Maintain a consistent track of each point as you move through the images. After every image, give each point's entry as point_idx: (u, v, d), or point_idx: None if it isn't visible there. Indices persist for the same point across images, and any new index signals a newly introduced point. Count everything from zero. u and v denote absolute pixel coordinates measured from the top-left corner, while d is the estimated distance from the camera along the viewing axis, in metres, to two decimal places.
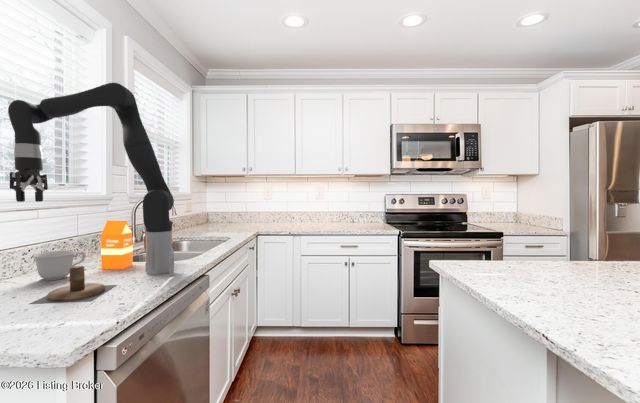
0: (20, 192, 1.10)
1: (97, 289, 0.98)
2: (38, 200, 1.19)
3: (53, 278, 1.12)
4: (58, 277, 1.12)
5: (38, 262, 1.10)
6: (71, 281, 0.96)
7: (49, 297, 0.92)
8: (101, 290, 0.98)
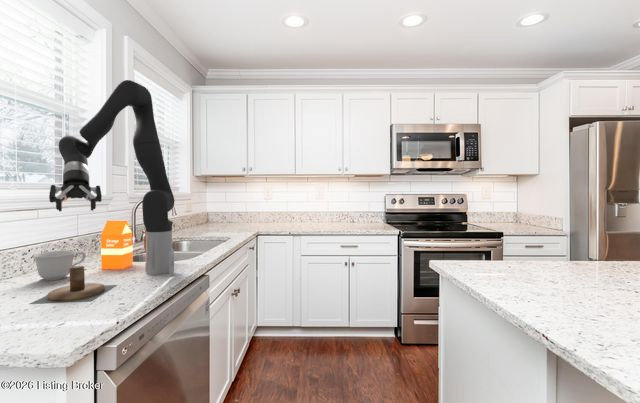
0: (57, 201, 1.04)
1: (97, 289, 0.98)
2: None
3: (53, 278, 1.12)
4: (58, 277, 1.12)
5: (38, 262, 1.10)
6: (71, 281, 0.96)
7: (49, 297, 0.92)
8: (101, 290, 0.98)
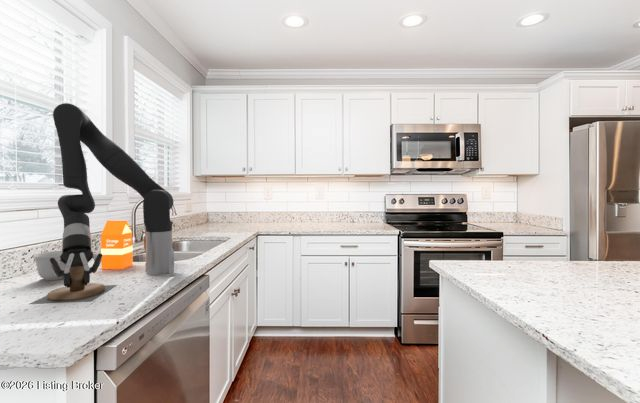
0: (64, 276, 0.95)
1: (97, 289, 0.98)
2: (84, 282, 0.97)
3: (53, 278, 1.12)
4: (58, 277, 1.12)
5: (38, 262, 1.10)
6: (71, 281, 0.96)
7: (49, 297, 0.91)
8: (101, 290, 0.98)
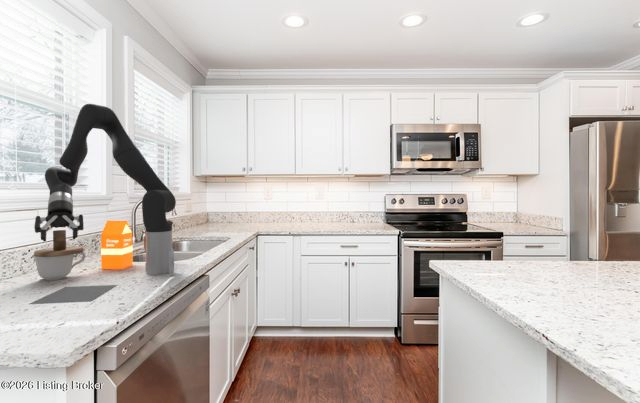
0: (41, 231, 1.12)
1: (76, 249, 1.16)
2: None
3: (53, 278, 1.12)
4: (58, 277, 1.12)
5: (38, 262, 1.10)
6: (54, 242, 1.14)
7: (35, 254, 1.09)
8: (80, 250, 1.16)
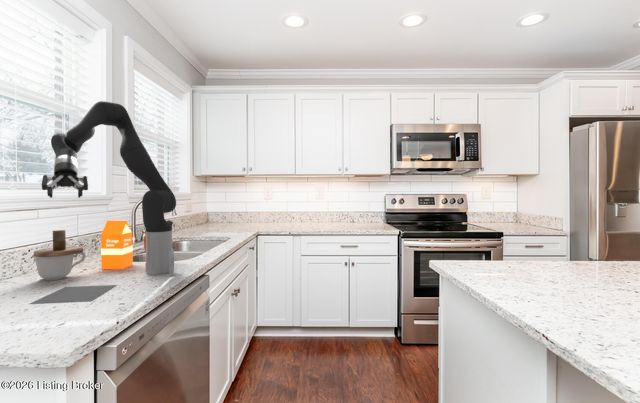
0: (48, 188, 1.20)
1: (76, 249, 1.16)
2: (78, 195, 1.25)
3: (53, 278, 1.12)
4: (58, 277, 1.12)
5: (38, 262, 1.10)
6: (54, 242, 1.13)
7: (35, 254, 1.09)
8: (80, 250, 1.16)
